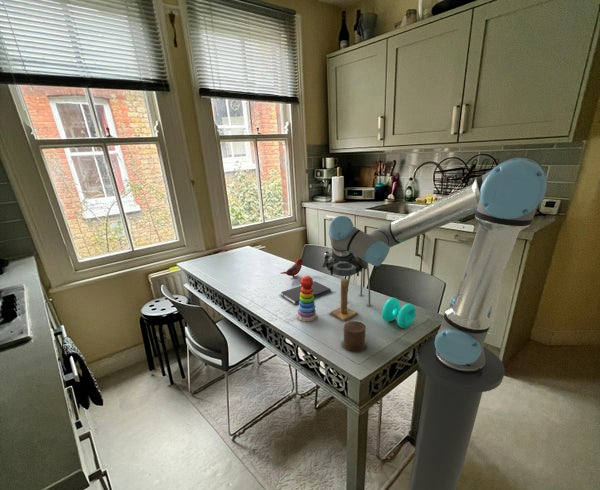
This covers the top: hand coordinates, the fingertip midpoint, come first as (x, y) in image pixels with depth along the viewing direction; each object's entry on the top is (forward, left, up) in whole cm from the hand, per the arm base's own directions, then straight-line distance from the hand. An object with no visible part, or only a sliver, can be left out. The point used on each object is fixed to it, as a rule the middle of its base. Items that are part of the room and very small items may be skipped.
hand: (345, 272), depth 130 cm
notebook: (+25, 0, -18) cm, 31 cm away
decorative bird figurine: (+44, -7, -18) cm, 48 cm away
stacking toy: (+7, +15, -18) cm, 25 cm away
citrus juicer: (0, -12, -18) cm, 22 cm away
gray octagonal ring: (-2, +2, +2) cm, 4 cm away
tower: (-2, +2, -18) cm, 18 cm away
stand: (-20, +16, -18) cm, 31 cm away
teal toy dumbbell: (-22, -8, -18) cm, 29 cm away
